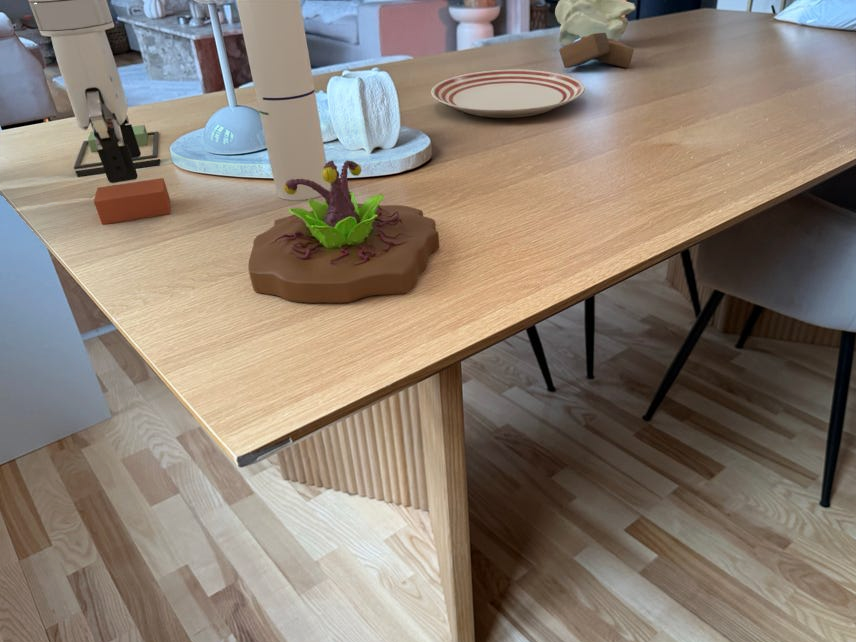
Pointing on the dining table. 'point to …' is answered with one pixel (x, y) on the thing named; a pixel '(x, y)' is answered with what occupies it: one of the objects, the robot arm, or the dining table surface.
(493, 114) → the dinner plate
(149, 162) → the frame tray
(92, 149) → the sage pad
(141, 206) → the terracotta pad
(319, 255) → the plant
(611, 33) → the wavy plaster lump
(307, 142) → the cylindrical container
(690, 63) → the dining table surface
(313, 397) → the dining table surface
